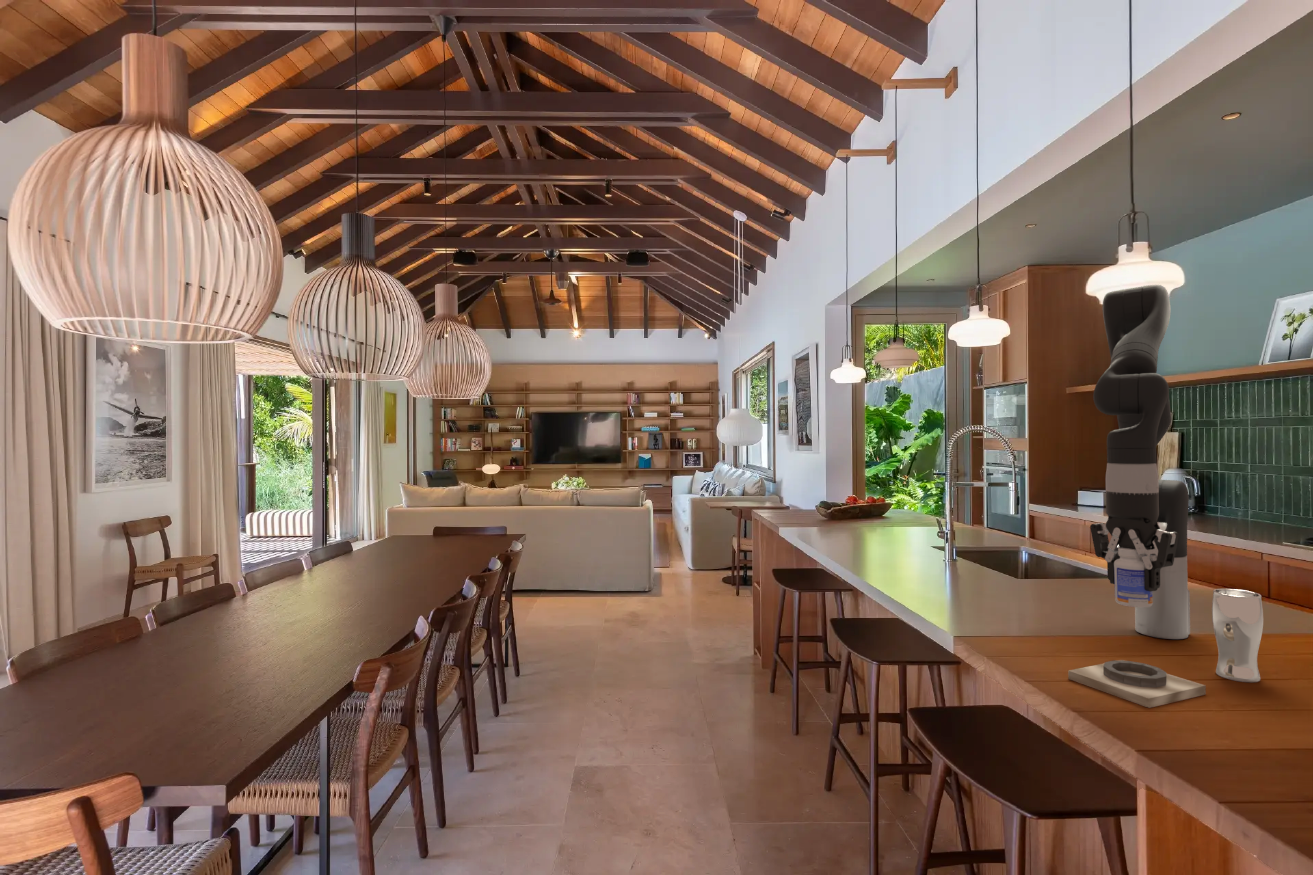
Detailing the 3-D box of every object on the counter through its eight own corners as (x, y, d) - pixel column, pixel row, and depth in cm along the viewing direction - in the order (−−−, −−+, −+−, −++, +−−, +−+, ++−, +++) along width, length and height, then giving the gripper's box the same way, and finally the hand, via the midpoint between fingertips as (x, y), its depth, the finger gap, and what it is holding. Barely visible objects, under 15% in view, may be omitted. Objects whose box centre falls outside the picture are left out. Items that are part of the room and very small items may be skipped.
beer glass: (1252, 671, 124) (1251, 589, 124) (1272, 685, 117) (1271, 598, 117) (1205, 668, 126) (1204, 587, 126) (1223, 681, 119) (1222, 595, 119)
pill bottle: (1159, 608, 115) (1158, 551, 114) (1123, 607, 116) (1122, 550, 116) (1143, 600, 120) (1142, 545, 120) (1108, 599, 121) (1108, 545, 121)
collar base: (1122, 667, 127) (1122, 651, 127) (1205, 694, 114) (1205, 676, 114) (1068, 678, 122) (1068, 662, 122) (1149, 707, 109) (1148, 689, 109)
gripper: (1191, 491, 112) (1192, 593, 112) (1106, 485, 126) (1107, 577, 126) (1160, 493, 110) (1161, 598, 110) (1077, 487, 123) (1078, 580, 123)
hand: (1133, 586), depth 118 cm, fingers closed on pill bottle, 5 cm apart
